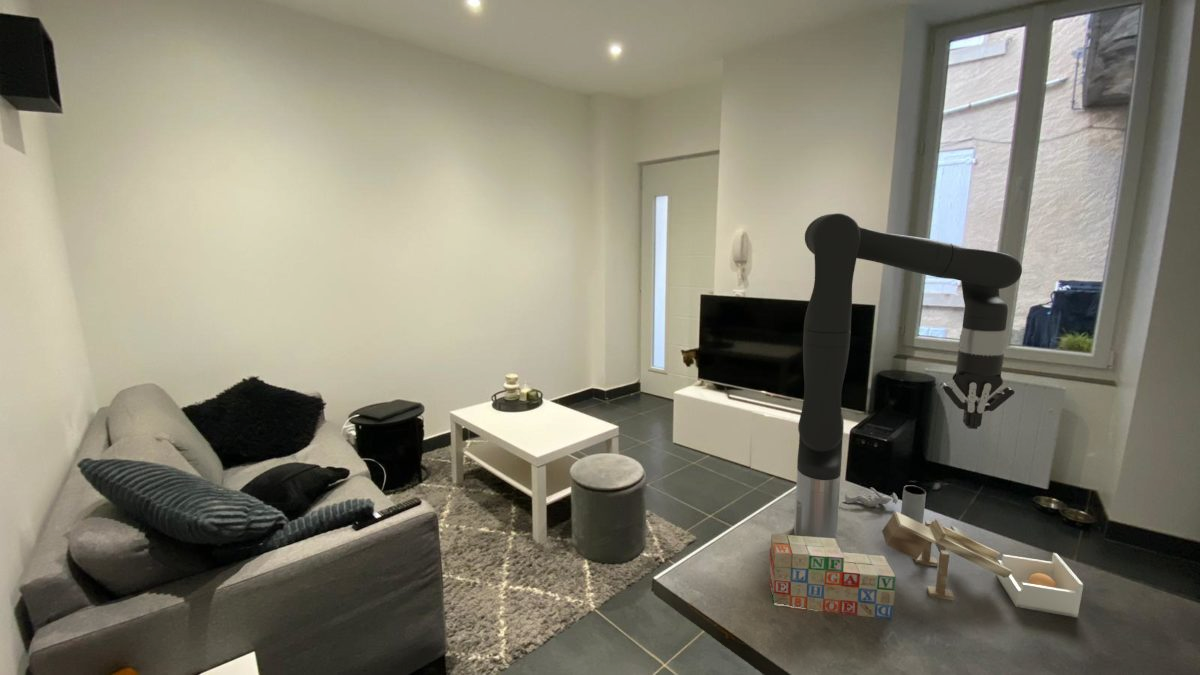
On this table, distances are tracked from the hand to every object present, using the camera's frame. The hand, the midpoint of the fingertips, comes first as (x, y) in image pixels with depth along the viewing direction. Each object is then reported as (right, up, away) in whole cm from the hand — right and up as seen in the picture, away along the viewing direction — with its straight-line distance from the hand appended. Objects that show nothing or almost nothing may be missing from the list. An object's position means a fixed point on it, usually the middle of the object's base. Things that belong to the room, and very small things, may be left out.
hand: (971, 427), depth 104 cm
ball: (+6, -29, -10) cm, 31 cm away
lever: (-10, -27, -2) cm, 29 cm away
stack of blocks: (-35, -33, -8) cm, 49 cm away
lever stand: (-11, -31, -3) cm, 33 cm away
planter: (-5, -27, +13) cm, 31 cm away
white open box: (+5, -31, -9) cm, 33 cm away
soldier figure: (-9, -25, +24) cm, 36 cm away
